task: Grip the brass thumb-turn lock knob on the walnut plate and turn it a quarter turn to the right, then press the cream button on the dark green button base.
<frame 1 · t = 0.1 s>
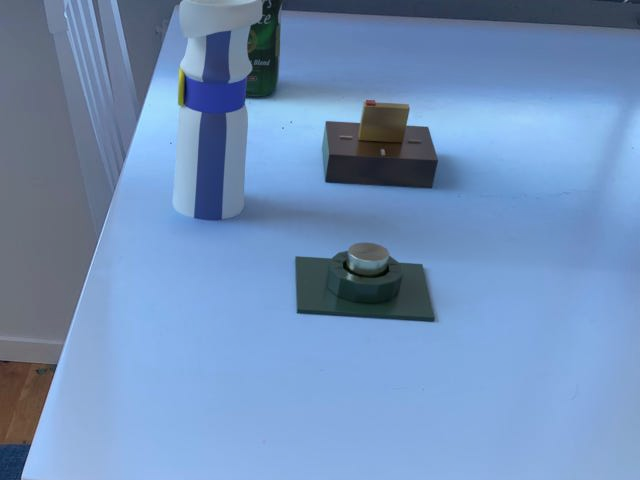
water bottle: (206, 207, 101), on the table
coffee jar: (241, 89, 126), on the table
dark green button base: (357, 307, 87), on the table
bell button: (367, 261, 84), point 4 cm above the table, slide at 0.1 cm
lock plate: (375, 167, 109), on the table
lock knob: (383, 121, 105), point 5 cm above the table, hinge at 0.0°
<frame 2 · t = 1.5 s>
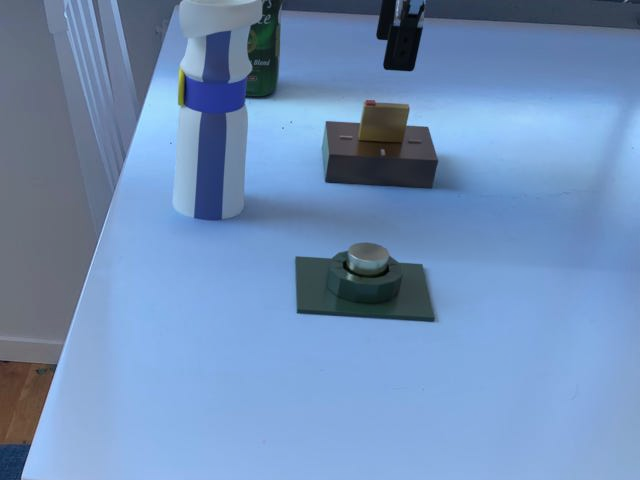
hand: (393, 54, 101), 12 cm above the table, tool pointing down, fingers open, 9 cm apart
nothing on the table moved.
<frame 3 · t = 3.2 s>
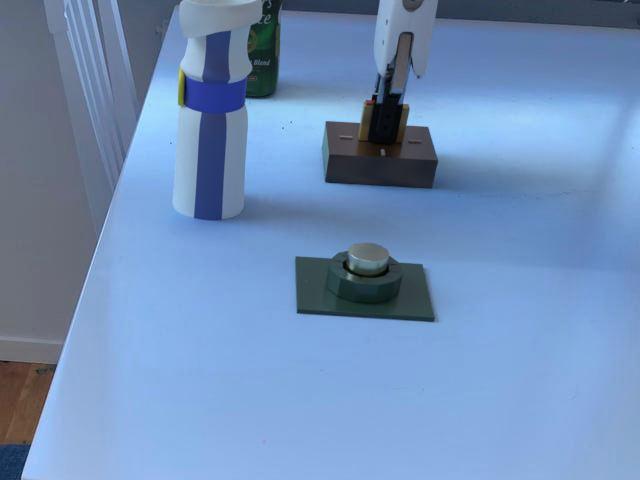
hand: (380, 136, 107), 3 cm above the table, tool pointing down, fingers closed
lock knob: (383, 121, 105), point 5 cm above the table, hinge at 0.0°, touching gripper
everything else where it was.
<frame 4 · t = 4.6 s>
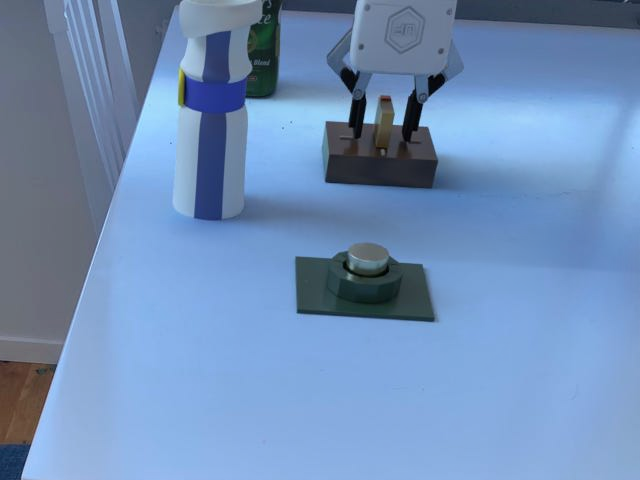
hand: (381, 134, 106), 4 cm above the table, tool pointing down, fingers open, 4 cm apart
lock knob: (383, 121, 105), point 5 cm above the table, hinge at -90.1°
everything else where it was.
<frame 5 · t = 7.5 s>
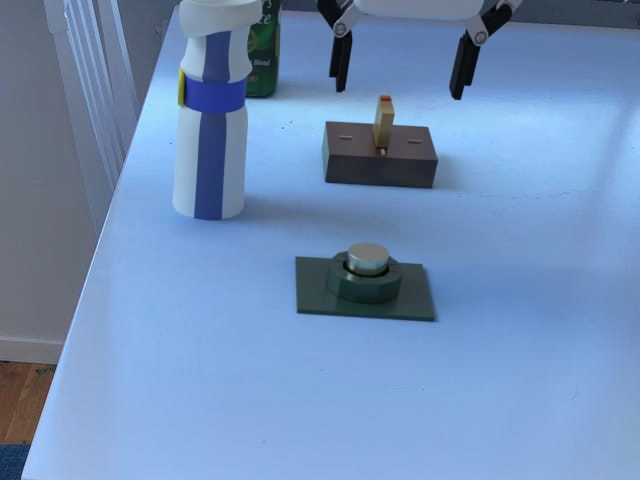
hand: (397, 90, 79), 16 cm above the table, tool pointing down, fingers open, 9 cm apart
nothing on the table moved.
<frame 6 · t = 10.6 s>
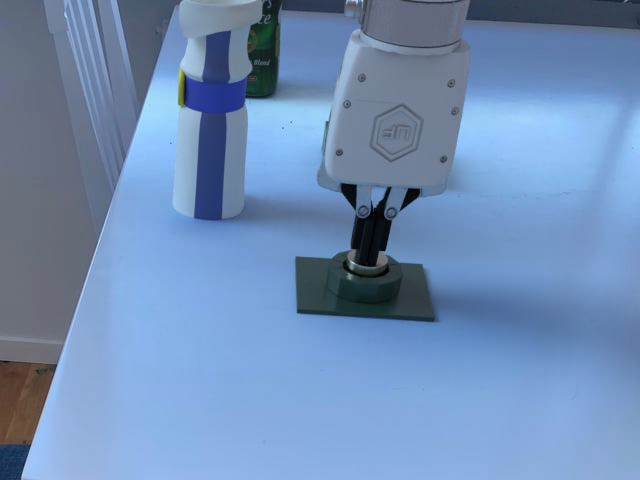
hand: (365, 256, 83), 5 cm above the table, tool pointing down, fingers closed
bell button: (365, 266, 84), point 4 cm above the table, slide at -0.4 cm, touching gripper
everything else where it was.
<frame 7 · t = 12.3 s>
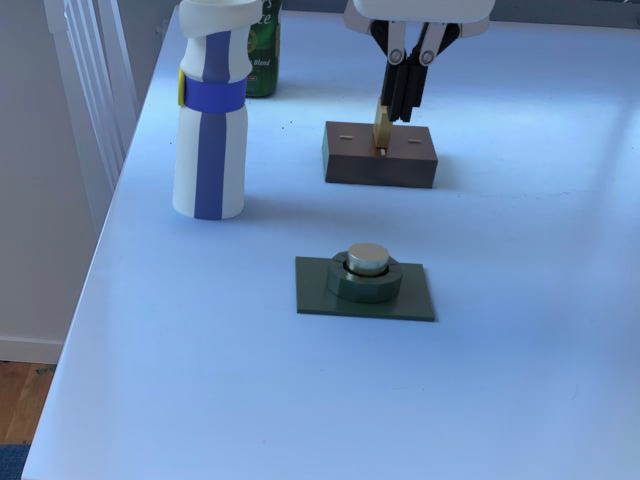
hand: (397, 115, 75), 16 cm above the table, tool pointing down, fingers closed
bell button: (367, 261, 84), point 4 cm above the table, slide at 0.1 cm
everything else where it was.
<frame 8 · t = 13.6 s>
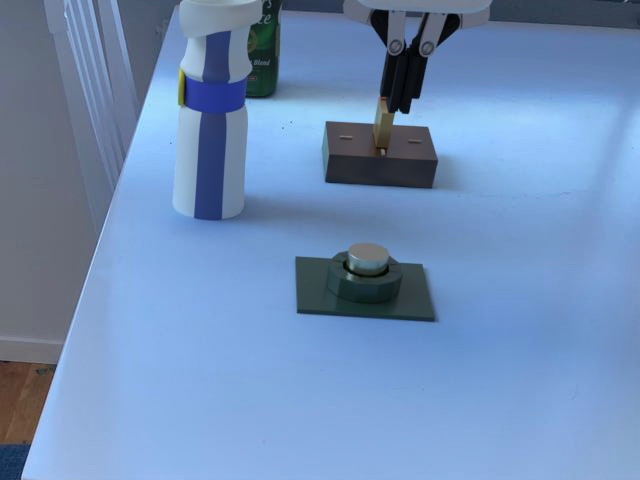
hand: (396, 107, 74), 17 cm above the table, tool pointing down, fingers closed
nothing on the table moved.
at the end: lock knob at -90° (first picture: +0°); bell button pushed in 1.1 cm at the most during the clip, back to where it started at the end; bell button slide at 0.1 cm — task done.
